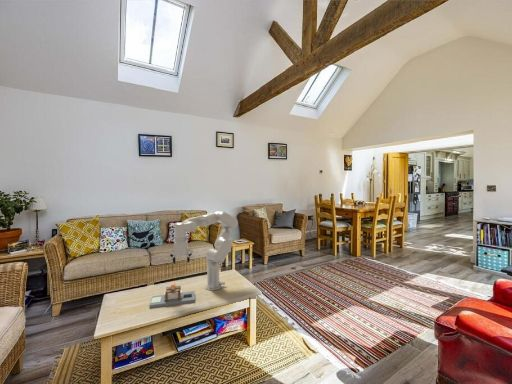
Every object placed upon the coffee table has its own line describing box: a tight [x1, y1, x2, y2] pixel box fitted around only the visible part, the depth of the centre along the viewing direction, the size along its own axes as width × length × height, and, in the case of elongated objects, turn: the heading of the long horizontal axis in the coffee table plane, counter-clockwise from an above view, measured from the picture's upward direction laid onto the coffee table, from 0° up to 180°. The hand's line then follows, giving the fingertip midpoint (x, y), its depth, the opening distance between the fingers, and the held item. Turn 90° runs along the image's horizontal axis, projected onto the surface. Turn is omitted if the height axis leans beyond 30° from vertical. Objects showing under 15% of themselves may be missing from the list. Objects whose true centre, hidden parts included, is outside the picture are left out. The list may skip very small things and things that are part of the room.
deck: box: [149, 291, 196, 309], centre depth 177 cm, size 30×14×2 cm, turn 105°
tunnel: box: [164, 285, 182, 302], centre depth 177 cm, size 10×9×6 cm
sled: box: [163, 281, 183, 300], centre depth 177 cm, size 12×7×10 cm, turn 105°
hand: (181, 262), depth 180 cm, fingers open, 9 cm apart
